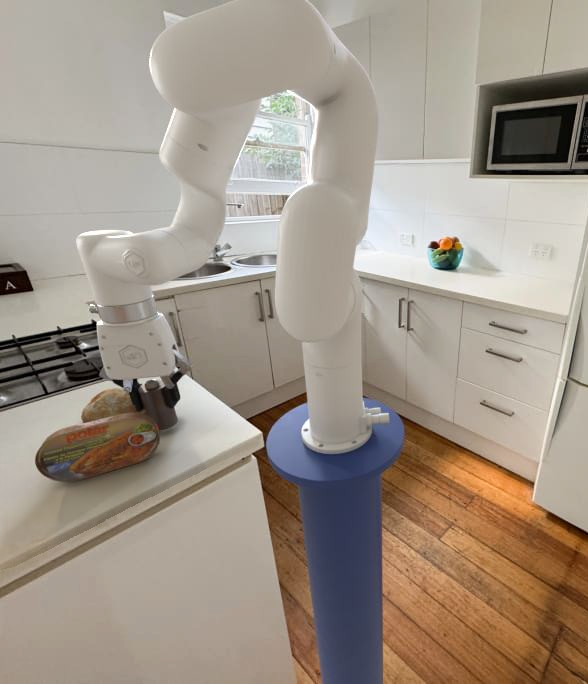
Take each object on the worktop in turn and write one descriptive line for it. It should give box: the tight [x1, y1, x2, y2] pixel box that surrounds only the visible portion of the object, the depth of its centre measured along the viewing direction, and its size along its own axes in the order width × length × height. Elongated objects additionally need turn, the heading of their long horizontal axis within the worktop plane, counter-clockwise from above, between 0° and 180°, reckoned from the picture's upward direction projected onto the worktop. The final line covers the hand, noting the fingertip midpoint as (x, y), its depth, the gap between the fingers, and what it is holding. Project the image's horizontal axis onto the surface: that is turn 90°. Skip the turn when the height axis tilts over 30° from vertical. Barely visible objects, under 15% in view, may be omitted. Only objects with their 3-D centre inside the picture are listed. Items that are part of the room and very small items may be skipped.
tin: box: [34, 413, 161, 483], centre depth 59 cm, size 15×3×8 cm, turn 122°
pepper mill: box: [138, 378, 179, 432], centre depth 68 cm, size 4×4×9 cm
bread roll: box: [80, 387, 146, 423], centre depth 71 cm, size 10×10×8 cm
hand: (158, 404), depth 69 cm, fingers closed on pepper mill, 4 cm apart
